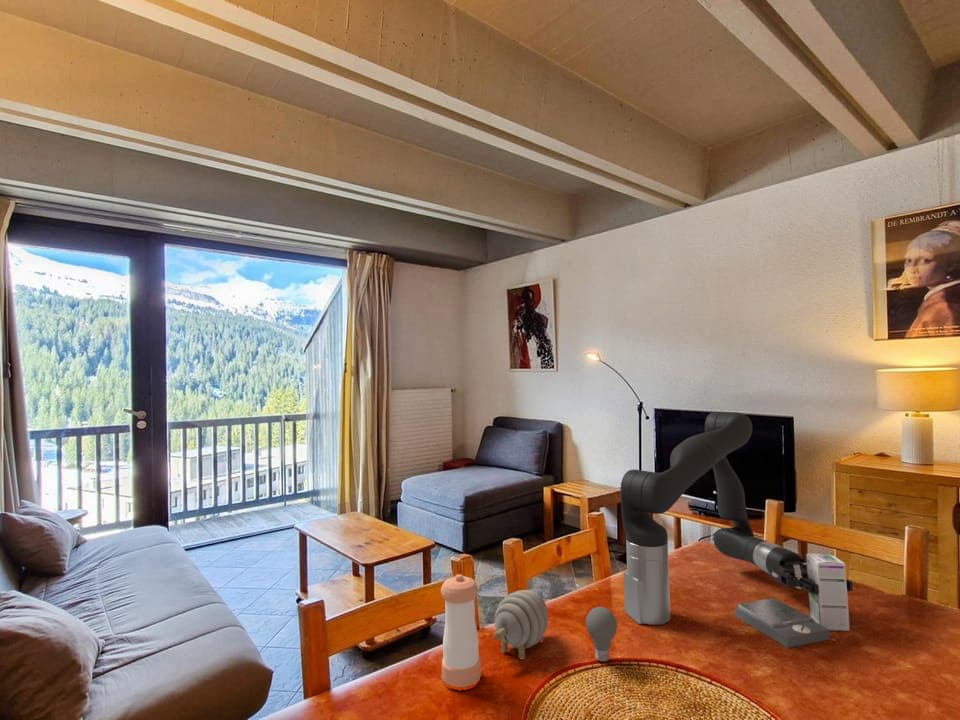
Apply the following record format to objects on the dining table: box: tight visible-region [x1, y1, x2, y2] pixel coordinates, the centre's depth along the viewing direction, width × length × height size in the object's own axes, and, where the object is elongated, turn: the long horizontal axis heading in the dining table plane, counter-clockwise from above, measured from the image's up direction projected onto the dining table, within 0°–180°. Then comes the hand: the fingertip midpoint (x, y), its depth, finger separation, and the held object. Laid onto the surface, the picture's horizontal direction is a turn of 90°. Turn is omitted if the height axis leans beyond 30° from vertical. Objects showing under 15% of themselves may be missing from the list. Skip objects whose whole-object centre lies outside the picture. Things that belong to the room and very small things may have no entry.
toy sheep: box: [493, 589, 549, 659], centre depth 103 cm, size 11×17×11 cm, turn 148°
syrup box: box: [806, 552, 850, 632], centre depth 110 cm, size 6×6×14 cm
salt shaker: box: [440, 573, 482, 687], centre depth 93 cm, size 7×7×19 cm
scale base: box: [734, 606, 831, 649], centre depth 109 cm, size 11×14×2 cm
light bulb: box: [585, 606, 618, 662], centre depth 98 cm, size 6×6×10 cm
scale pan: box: [737, 597, 812, 628], centre depth 110 cm, size 10×10×1 cm
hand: (834, 588), depth 108 cm, fingers open, 8 cm apart
